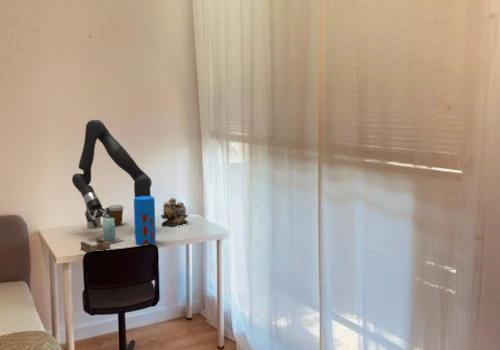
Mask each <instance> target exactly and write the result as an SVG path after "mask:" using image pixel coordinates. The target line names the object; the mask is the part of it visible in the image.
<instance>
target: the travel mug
mask: <svg viewBox="0 0 500 350" xmlns="http://www.w3.org/2000/svg"><path fill="white" fill-rule="evenodd" d="M98 199H99V200H100V197H98ZM85 208H86V209H85V210H86V211H89V210H88V208H87V206H86V205H85ZM86 211H85V212H86ZM89 215H90V217H91V218H92V215H91V214H89ZM94 220H95V221H96V223H97V227H94V226H93V224H92V222H88V221H87V220H86V227H87V228H88V229H98V228H100V227H101V225H102V224H101V217H98V218H96V217H95V219H94Z"/></svg>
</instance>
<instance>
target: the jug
mask: <svg viewBox="0 0 500 350" xmlns="http://www.w3.org/2000/svg"><path fill="white" fill-rule="evenodd" d="M102 229H103V231H102V232H103V234H102V235H103V239H104V240H106V241H108V242H111V241H115V237H116V226H115V225H114V218H103V219H102Z"/></svg>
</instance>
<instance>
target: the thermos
mask: <svg viewBox="0 0 500 350" xmlns="http://www.w3.org/2000/svg"><path fill="white" fill-rule="evenodd" d="M155 205H156V204H155V197H154V196H153V195H151V196H140V197H135V196H134V198H133V212H134V214H133V215H134V216H133V217H134V238H135V244H136V245H137V246H140V245H145V244H152V245H154V244H155V243H156V236H157V235H156V215H155V214H156V212H155V210H156V207H155ZM153 243H154V244H153Z"/></svg>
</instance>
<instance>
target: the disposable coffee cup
mask: <svg viewBox="0 0 500 350" xmlns="http://www.w3.org/2000/svg"><path fill="white" fill-rule="evenodd" d="M108 208H109V210H110V212H111V214H112V216H111V218H114V225H115V227H120V226H122V224H123V213H124V206H123V205H121V204H113V205H109V206H108Z"/></svg>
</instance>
